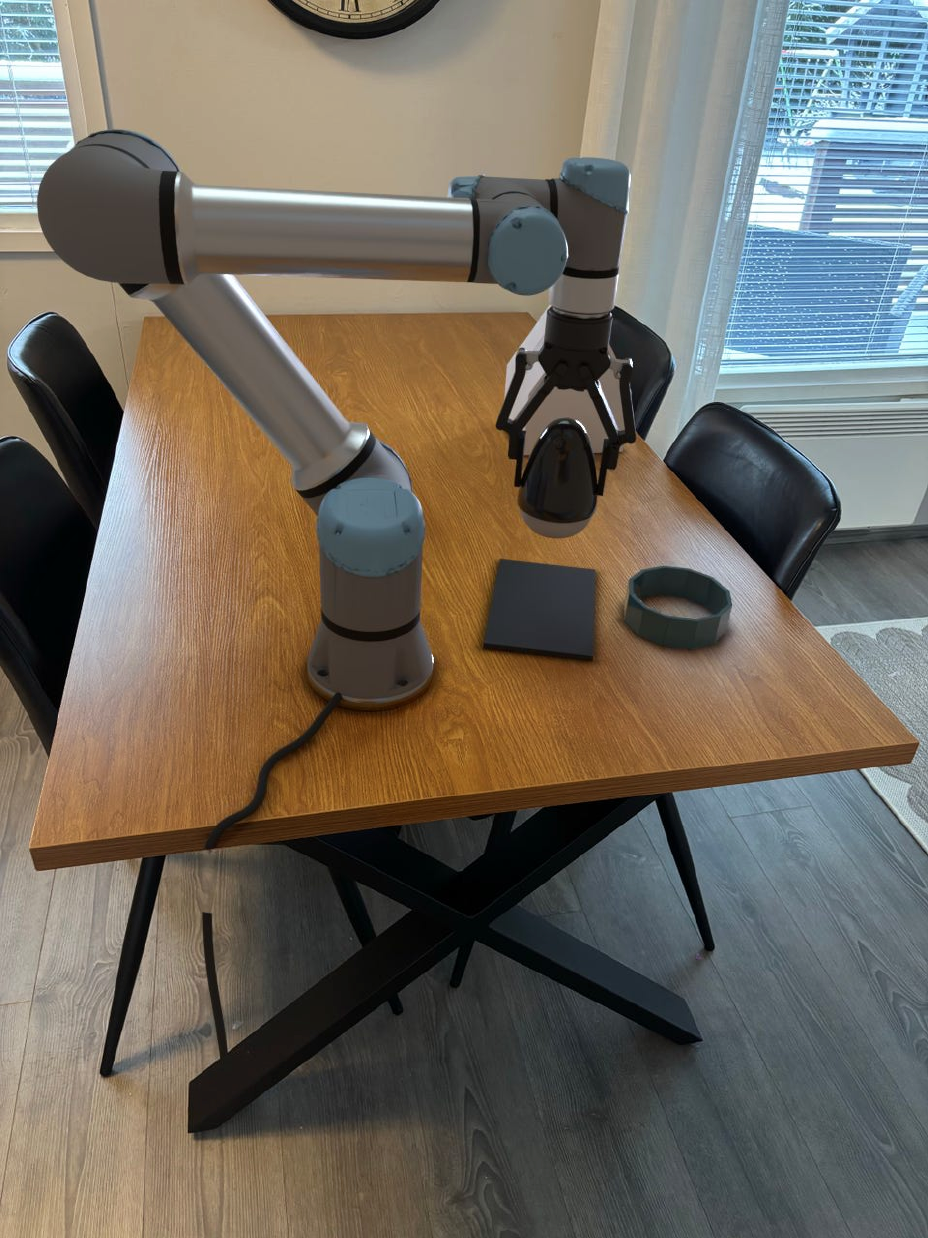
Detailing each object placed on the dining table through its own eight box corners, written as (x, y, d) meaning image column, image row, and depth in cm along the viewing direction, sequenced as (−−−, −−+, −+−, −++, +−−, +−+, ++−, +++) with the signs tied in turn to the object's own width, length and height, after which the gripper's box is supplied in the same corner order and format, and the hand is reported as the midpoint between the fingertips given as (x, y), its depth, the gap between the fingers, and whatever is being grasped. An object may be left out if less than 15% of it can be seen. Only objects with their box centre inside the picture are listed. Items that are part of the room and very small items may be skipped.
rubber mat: (592, 661, 123) (593, 656, 122) (483, 648, 124) (483, 643, 123) (594, 573, 141) (595, 569, 140) (499, 563, 142) (499, 558, 141)
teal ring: (729, 654, 126) (736, 625, 123) (624, 642, 127) (629, 613, 124) (719, 599, 137) (726, 572, 134) (623, 588, 138) (628, 561, 135)
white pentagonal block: (522, 455, 175) (535, 316, 161) (502, 422, 187) (513, 291, 173) (622, 451, 179) (643, 316, 165) (596, 419, 191) (614, 291, 177)
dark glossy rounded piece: (505, 539, 122) (515, 427, 114) (525, 505, 131) (536, 398, 122) (584, 555, 120) (600, 441, 112) (599, 519, 128) (615, 411, 120)
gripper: (677, 308, 112) (646, 483, 124) (486, 291, 114) (474, 465, 126) (681, 327, 106) (648, 509, 118) (479, 308, 107) (467, 490, 120)
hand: (558, 486), depth 122 cm, fingers closed on dark glossy rounded piece, 10 cm apart
